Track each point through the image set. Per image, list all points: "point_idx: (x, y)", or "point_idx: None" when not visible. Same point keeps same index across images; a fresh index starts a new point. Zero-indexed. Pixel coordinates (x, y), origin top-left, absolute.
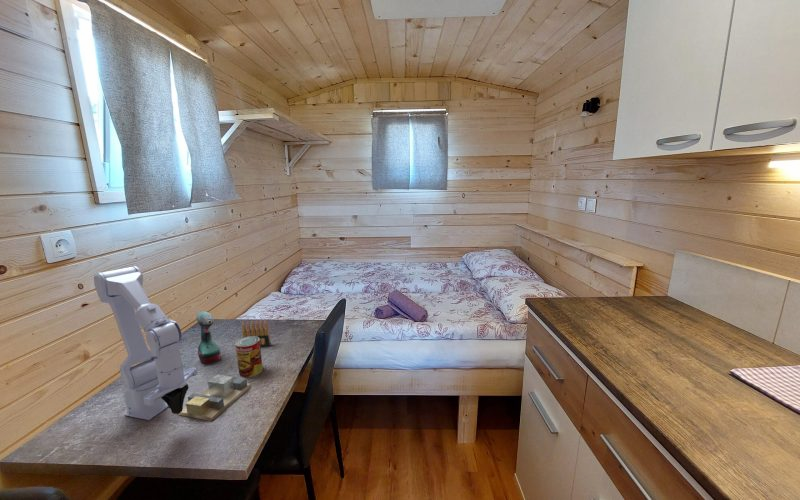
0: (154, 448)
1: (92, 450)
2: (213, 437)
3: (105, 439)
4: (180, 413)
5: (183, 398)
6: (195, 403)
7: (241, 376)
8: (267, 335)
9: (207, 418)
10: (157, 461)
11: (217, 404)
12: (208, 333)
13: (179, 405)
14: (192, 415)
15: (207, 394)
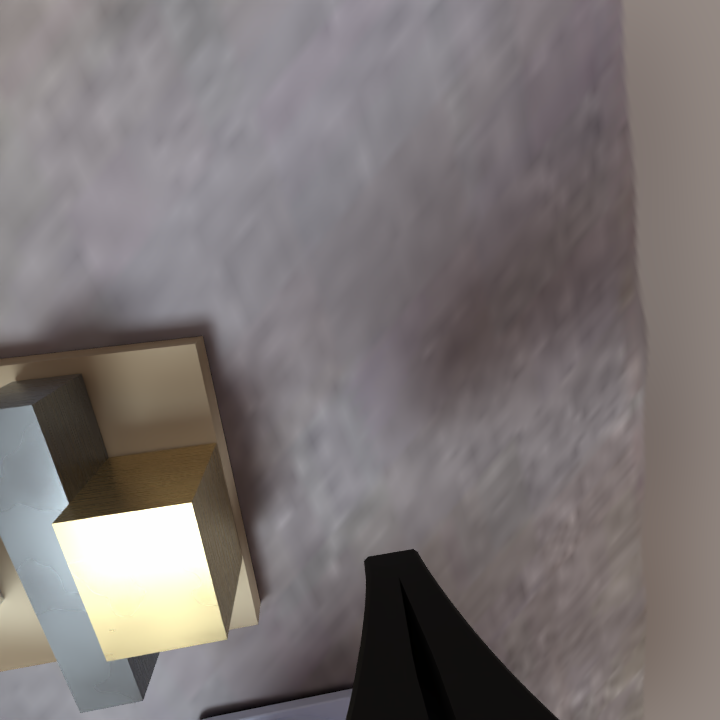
0: (527, 459)
1: (585, 689)
2: (342, 150)
3: None
4: (255, 598)
5: (372, 704)
6: (184, 571)
7: None
8: None
9: (207, 383)
10: (608, 345)
11: (55, 405)
12: None
13: (431, 625)
14: (235, 512)
15: (5, 624)
